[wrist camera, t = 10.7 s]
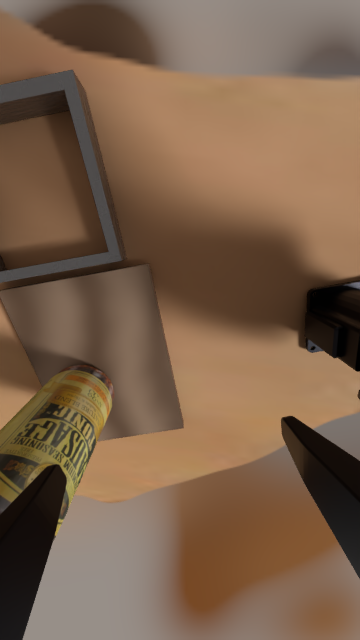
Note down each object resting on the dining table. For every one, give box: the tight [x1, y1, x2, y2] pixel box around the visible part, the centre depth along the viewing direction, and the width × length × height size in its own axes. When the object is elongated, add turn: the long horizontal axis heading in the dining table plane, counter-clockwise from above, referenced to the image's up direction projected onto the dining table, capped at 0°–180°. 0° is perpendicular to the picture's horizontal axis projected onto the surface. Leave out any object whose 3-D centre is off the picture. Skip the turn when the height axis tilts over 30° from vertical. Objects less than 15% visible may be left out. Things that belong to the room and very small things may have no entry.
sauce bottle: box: [0, 364, 114, 540], centre depth 13 cm, size 6×6×20 cm
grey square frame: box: [0, 70, 127, 283], centre depth 16 cm, size 11×11×2 cm
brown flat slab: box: [0, 263, 183, 441], centre depth 22 cm, size 13×18×1 cm
